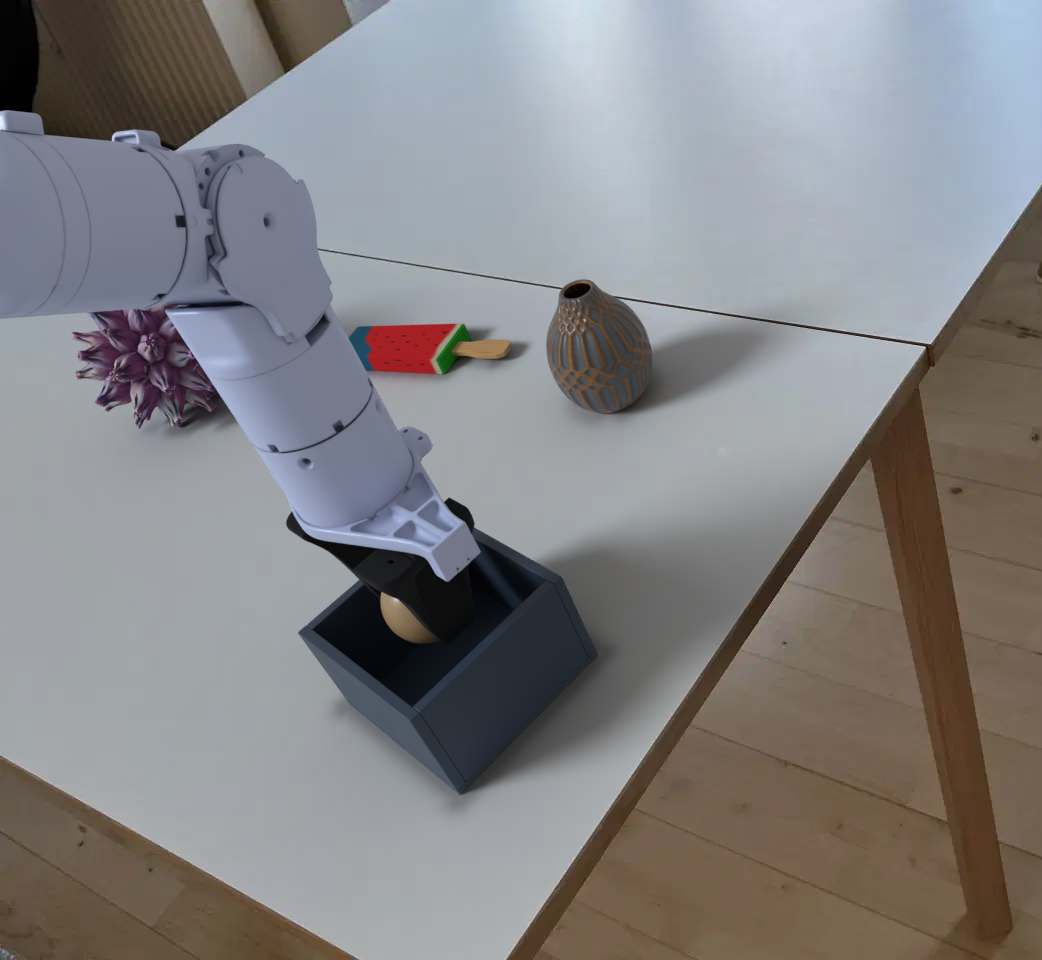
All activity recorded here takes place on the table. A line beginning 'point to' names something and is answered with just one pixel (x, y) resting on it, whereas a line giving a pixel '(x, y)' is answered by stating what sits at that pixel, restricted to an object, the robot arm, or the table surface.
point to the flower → (143, 364)
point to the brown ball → (404, 621)
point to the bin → (459, 663)
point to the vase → (598, 349)
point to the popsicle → (420, 347)
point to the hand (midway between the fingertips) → (430, 610)
